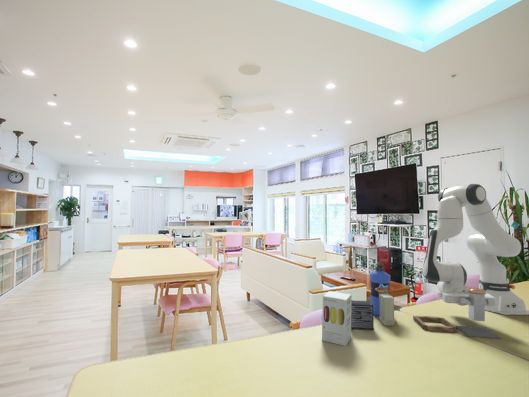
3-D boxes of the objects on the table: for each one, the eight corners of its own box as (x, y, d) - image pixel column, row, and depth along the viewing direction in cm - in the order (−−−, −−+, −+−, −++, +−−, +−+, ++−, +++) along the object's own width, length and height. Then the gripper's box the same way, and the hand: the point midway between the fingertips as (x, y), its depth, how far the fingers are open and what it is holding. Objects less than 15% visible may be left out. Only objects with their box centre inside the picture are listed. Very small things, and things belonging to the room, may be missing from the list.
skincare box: (394, 326, 127) (394, 297, 128) (384, 325, 127) (384, 297, 128) (388, 320, 134) (388, 293, 134) (379, 320, 134) (379, 293, 134)
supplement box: (321, 340, 111) (321, 295, 112) (327, 332, 119) (328, 290, 120) (346, 346, 107) (347, 299, 107) (351, 337, 115) (352, 293, 116)
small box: (370, 324, 128) (370, 300, 129) (374, 330, 122) (374, 305, 122) (345, 323, 129) (345, 299, 130) (348, 329, 123) (348, 303, 123)
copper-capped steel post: (480, 317, 125) (480, 288, 125) (489, 322, 118) (489, 292, 119) (464, 316, 125) (463, 287, 126) (472, 321, 119) (472, 291, 120)
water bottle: (393, 317, 138) (393, 264, 139) (373, 317, 138) (373, 263, 139) (385, 311, 147) (385, 260, 148) (367, 310, 147) (367, 260, 148)
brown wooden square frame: (442, 321, 134) (442, 317, 134) (457, 332, 121) (457, 328, 121) (412, 319, 136) (412, 315, 136) (423, 330, 123) (423, 325, 123)
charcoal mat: (485, 329, 126) (485, 327, 126) (501, 338, 116) (501, 337, 116) (455, 326, 127) (455, 325, 127) (468, 336, 118) (468, 335, 118)
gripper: (436, 286, 137) (450, 294, 123) (484, 289, 134) (504, 298, 120) (436, 300, 136) (450, 309, 123) (484, 303, 133) (504, 313, 120)
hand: (477, 304), depth 121 cm, fingers closed on copper-capped steel post, 4 cm apart
